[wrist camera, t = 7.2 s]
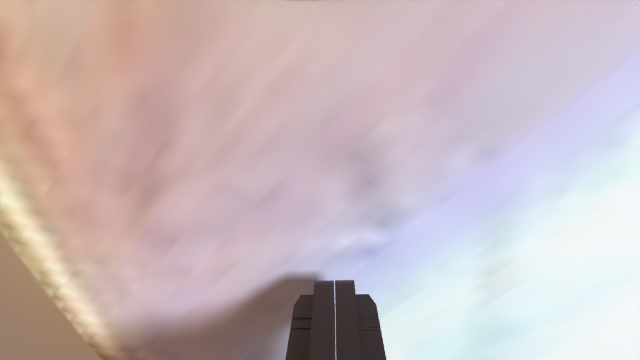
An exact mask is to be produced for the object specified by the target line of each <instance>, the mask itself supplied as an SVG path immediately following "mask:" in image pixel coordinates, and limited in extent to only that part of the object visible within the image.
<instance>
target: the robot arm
mask: <svg viewBox="0 0 640 360" xmlns="http://www.w3.org/2000/svg"><path fill="white" fill-rule="evenodd" d="M335 299H336V351H335V303H334V281H315V285H314V295H301V296H300V298H299V299H298V301H297V302H296V304H295V305H294V310H293V316H292V322H291V330H290V335H289V341H288V348H287V354H286V360H386V355H385V350H384V345H383V339H382V334H381V330H380V323H379V319H378V312H377V307H376V304H375V303H374V301H373V300H372V298H371V297H370V296H369V294H359V295H355V285H354V280H335Z"/></svg>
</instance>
